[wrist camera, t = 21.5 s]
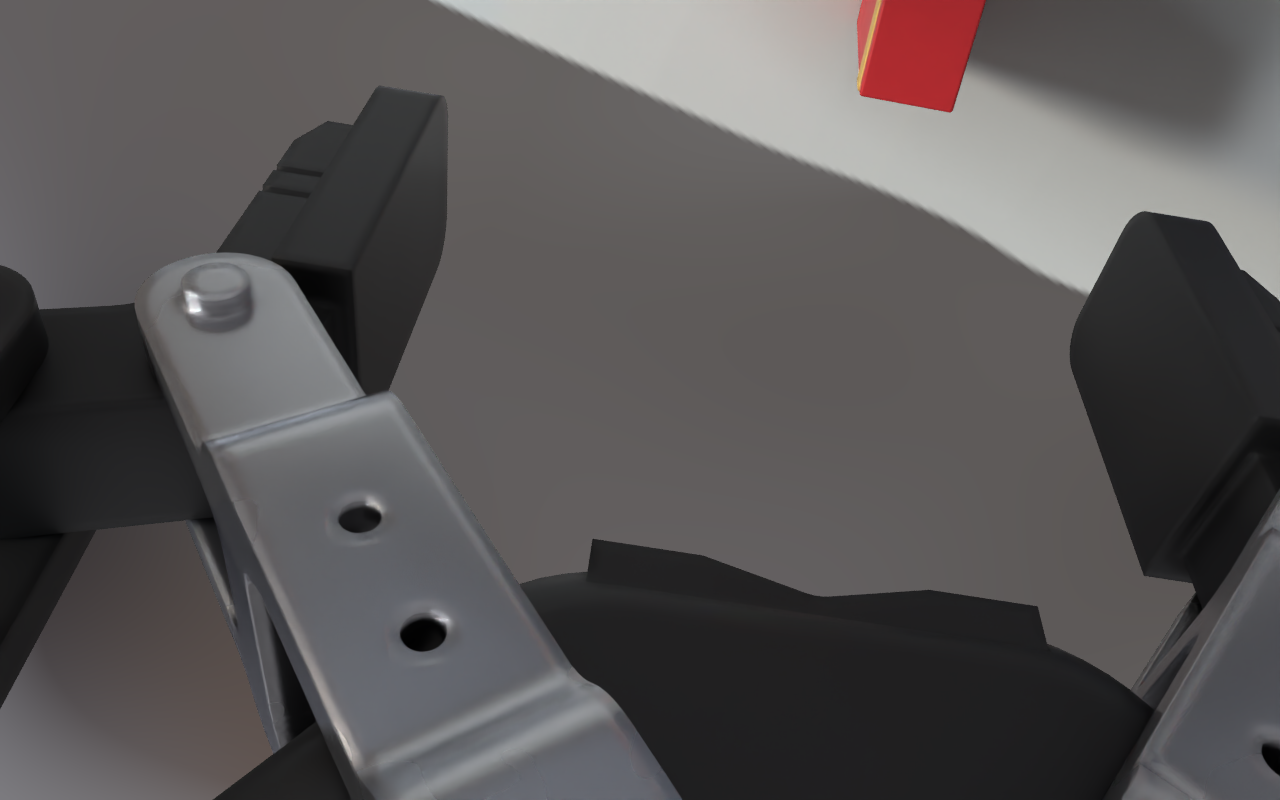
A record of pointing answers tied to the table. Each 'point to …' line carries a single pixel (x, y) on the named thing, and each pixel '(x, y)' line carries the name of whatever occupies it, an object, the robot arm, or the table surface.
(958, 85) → the red box
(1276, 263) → the table surface
